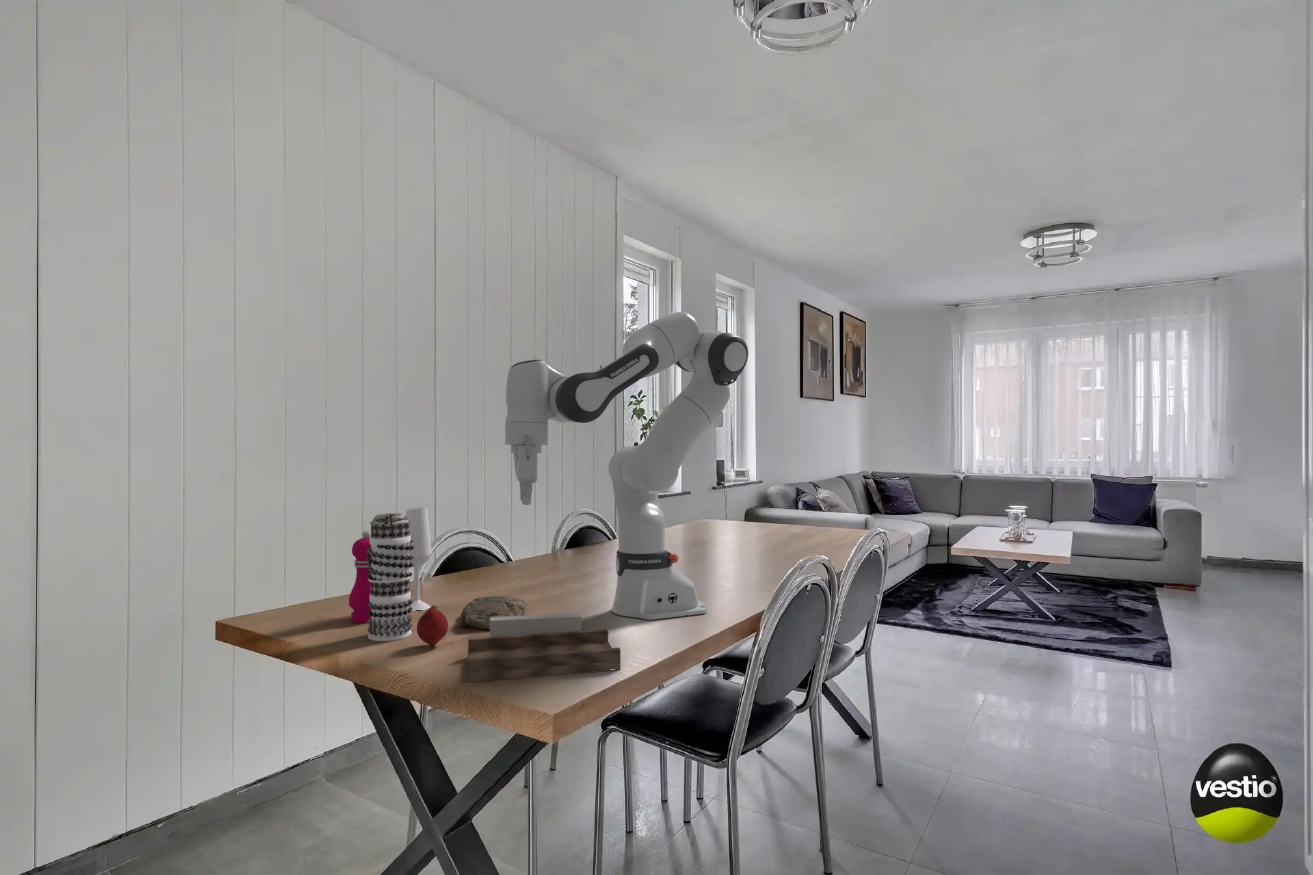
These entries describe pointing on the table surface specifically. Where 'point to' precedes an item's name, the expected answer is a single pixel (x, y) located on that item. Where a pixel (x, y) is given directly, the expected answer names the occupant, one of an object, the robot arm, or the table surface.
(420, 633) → the onion
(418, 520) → the champagne flute
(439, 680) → the table surface
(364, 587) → the pepper mill
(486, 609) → the rough brown rock
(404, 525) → the decorative candle
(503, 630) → the clay strip
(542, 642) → the grooved wooden tray
